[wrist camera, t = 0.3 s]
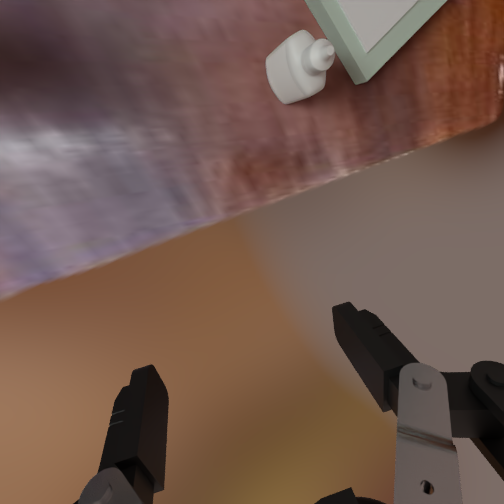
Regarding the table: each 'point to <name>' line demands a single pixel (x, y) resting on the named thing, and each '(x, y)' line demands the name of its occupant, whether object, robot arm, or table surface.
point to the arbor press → (370, 29)
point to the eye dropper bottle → (299, 66)
